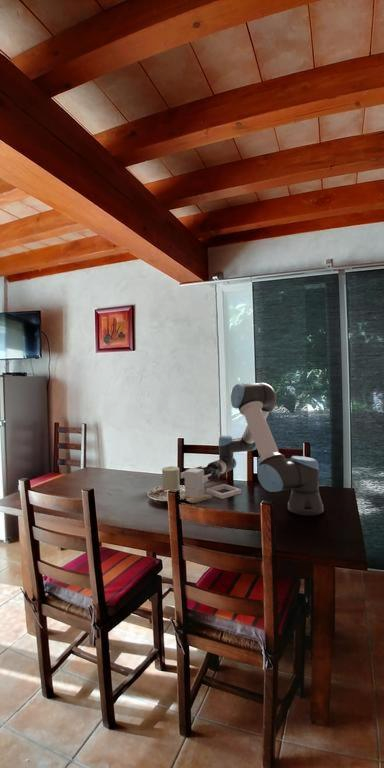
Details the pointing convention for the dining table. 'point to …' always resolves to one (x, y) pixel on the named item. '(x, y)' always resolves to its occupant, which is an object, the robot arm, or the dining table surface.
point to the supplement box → (194, 483)
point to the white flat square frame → (231, 492)
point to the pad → (194, 500)
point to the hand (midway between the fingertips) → (191, 477)
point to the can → (170, 478)
